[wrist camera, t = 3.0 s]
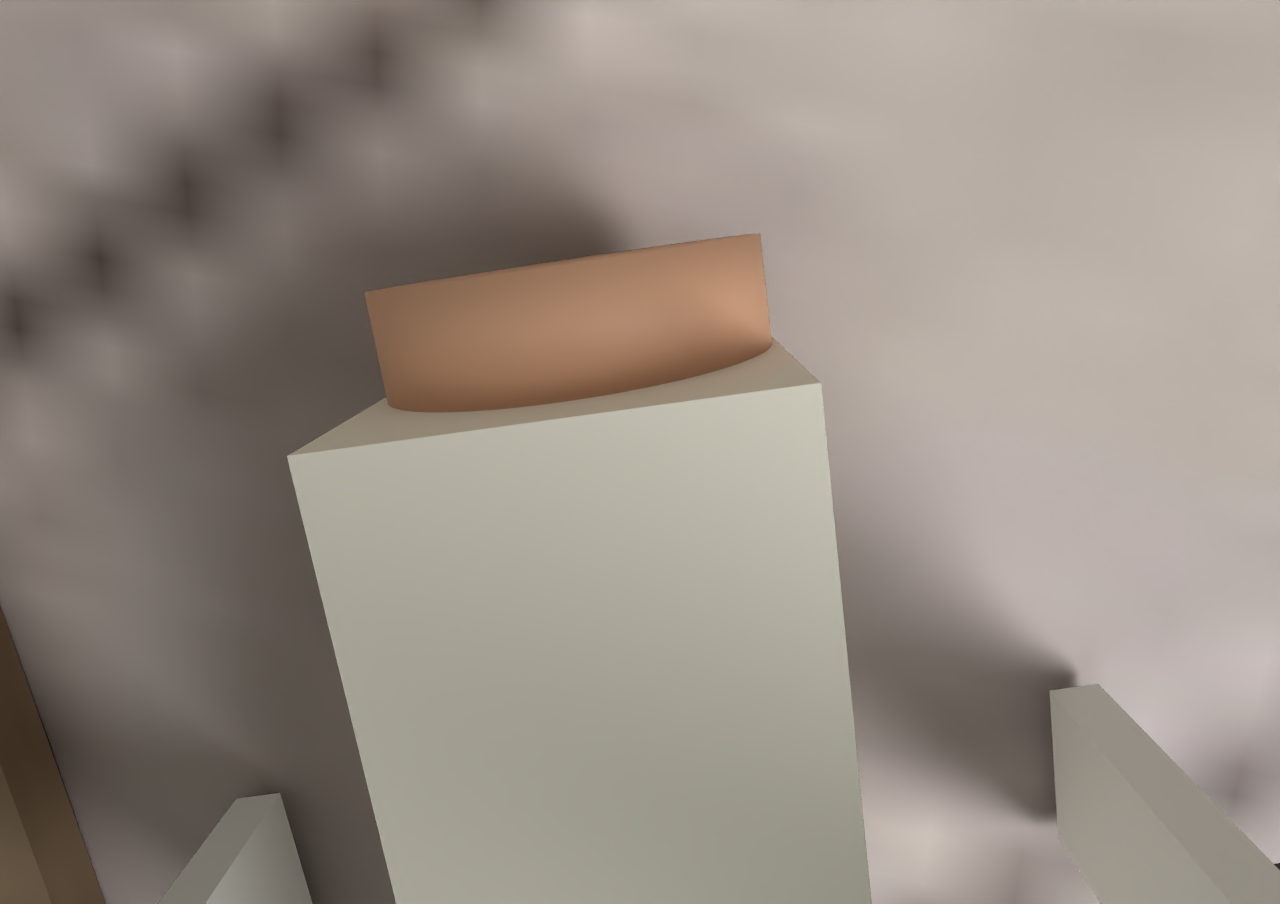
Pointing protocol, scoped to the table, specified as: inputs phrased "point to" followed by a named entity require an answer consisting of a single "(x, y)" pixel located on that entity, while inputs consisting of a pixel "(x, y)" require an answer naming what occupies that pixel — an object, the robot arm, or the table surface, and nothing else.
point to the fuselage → (593, 590)
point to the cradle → (35, 804)
